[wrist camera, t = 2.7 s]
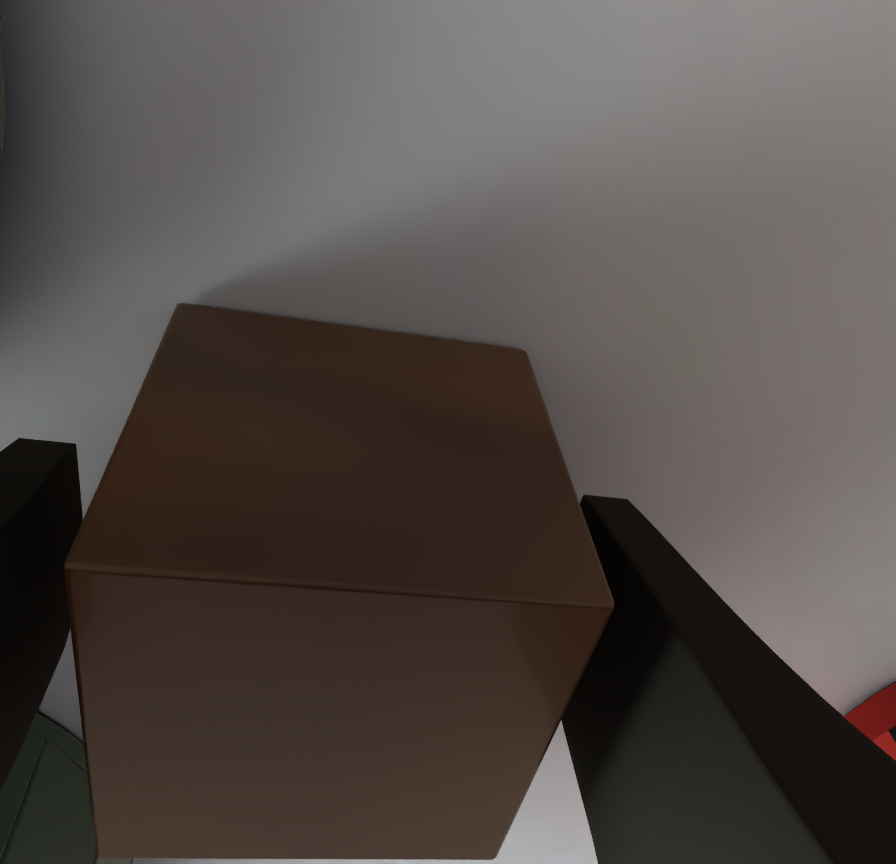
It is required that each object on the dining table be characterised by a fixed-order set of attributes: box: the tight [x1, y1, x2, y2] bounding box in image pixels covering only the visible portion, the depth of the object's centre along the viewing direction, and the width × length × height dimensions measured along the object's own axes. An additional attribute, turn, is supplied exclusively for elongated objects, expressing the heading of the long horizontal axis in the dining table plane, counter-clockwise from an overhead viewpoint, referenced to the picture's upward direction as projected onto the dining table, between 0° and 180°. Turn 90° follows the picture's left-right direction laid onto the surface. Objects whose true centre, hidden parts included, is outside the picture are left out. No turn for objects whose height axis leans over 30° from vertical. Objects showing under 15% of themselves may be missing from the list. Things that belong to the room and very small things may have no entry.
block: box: [64, 303, 614, 860], centre depth 9 cm, size 4×4×4 cm
